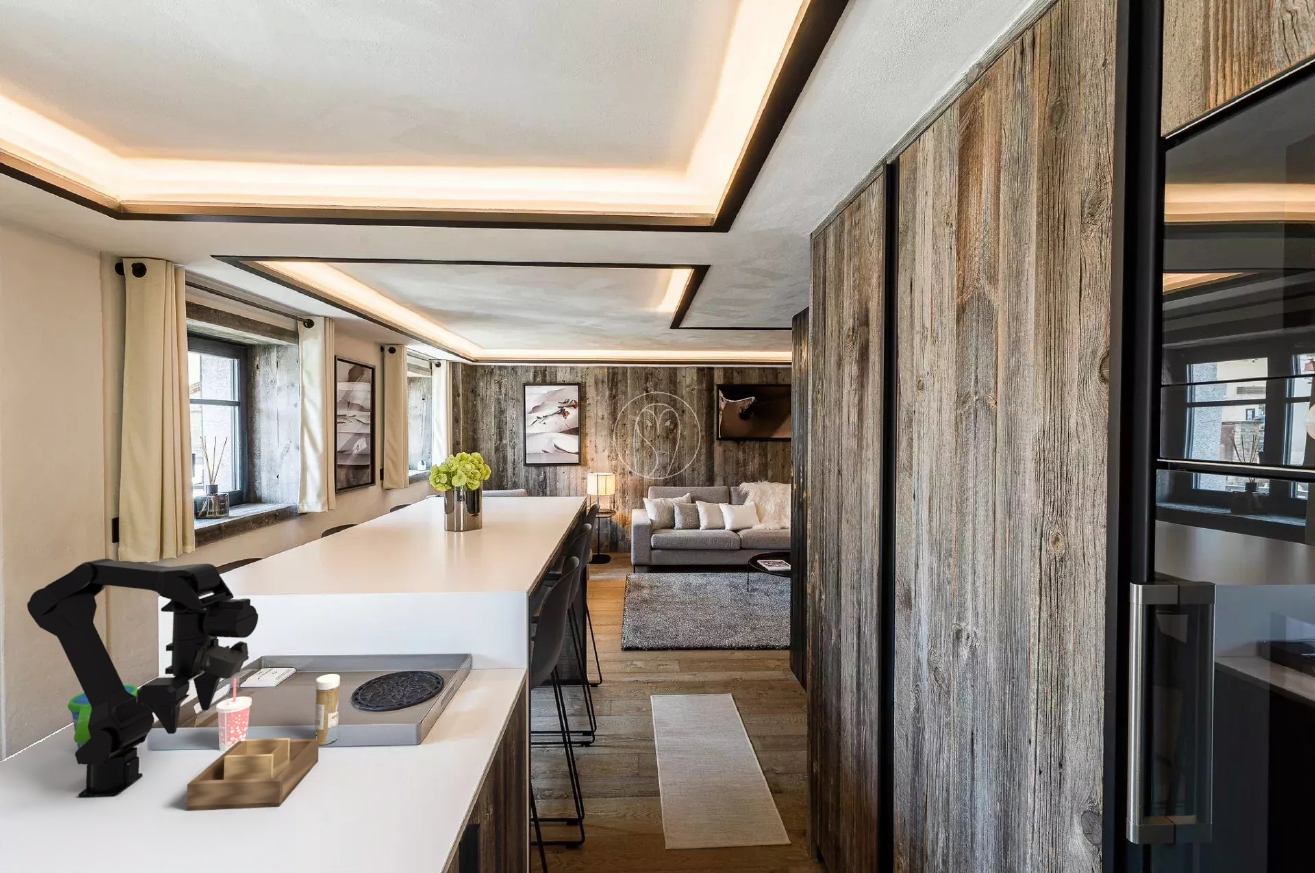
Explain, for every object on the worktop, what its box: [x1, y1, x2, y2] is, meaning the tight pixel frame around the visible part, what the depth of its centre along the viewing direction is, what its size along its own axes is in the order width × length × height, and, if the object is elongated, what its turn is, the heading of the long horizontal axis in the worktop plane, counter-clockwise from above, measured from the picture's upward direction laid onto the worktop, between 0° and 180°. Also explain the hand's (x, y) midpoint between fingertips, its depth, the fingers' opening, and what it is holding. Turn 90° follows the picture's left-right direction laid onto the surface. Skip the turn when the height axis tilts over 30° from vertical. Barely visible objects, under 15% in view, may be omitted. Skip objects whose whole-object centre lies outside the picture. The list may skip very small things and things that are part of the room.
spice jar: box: [314, 673, 341, 746], centre depth 128 cm, size 5×5×14 cm
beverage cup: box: [216, 677, 253, 753], centre depth 125 cm, size 6×6×14 cm
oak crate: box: [224, 737, 291, 780], centre depth 111 cm, size 8×6×6 cm
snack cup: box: [67, 684, 139, 749], centre depth 125 cm, size 16×10×10 cm
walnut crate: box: [186, 738, 320, 812], centre depth 111 cm, size 15×15×4 cm
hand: (189, 721), depth 109 cm, fingers open, 9 cm apart
